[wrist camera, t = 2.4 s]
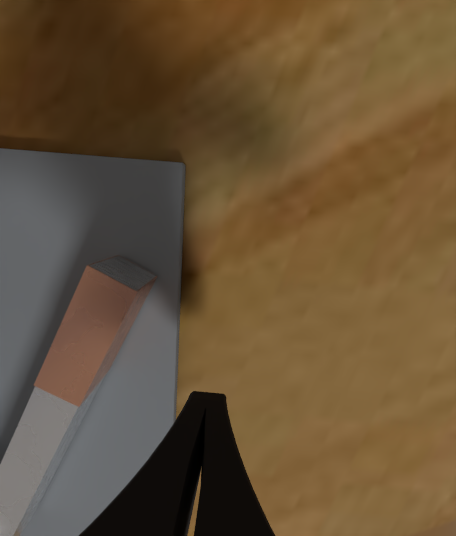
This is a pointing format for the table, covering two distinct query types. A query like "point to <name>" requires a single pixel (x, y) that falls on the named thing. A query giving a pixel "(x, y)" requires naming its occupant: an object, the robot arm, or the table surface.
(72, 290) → the slate mat
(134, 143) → the table surface
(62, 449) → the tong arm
